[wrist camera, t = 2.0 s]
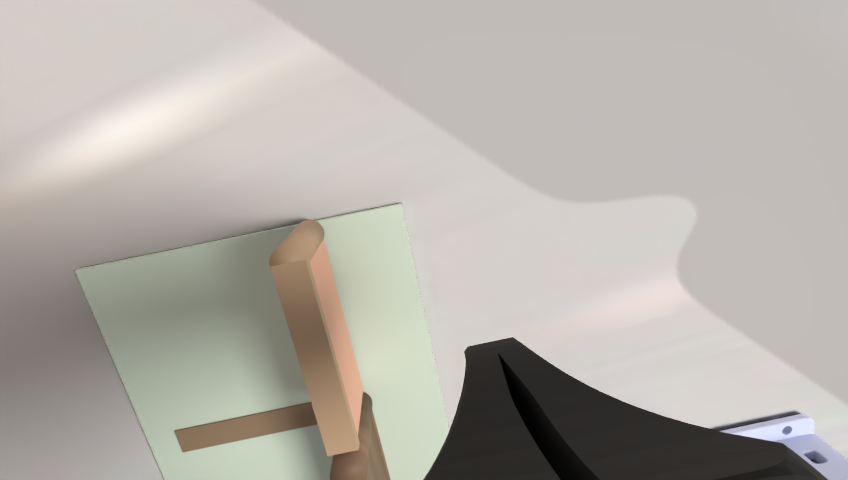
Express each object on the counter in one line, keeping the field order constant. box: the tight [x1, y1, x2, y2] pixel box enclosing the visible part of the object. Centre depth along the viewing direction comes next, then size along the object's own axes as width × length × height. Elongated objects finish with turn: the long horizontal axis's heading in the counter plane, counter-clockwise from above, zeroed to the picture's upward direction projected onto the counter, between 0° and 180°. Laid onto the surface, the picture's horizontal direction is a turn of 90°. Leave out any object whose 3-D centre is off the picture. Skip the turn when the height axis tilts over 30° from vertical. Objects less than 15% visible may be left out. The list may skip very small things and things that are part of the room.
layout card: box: [75, 203, 449, 480], centre depth 21 cm, size 14×18×1 cm
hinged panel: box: [269, 220, 363, 456], centre depth 18 cm, size 1×8×4 cm, turn 11°
